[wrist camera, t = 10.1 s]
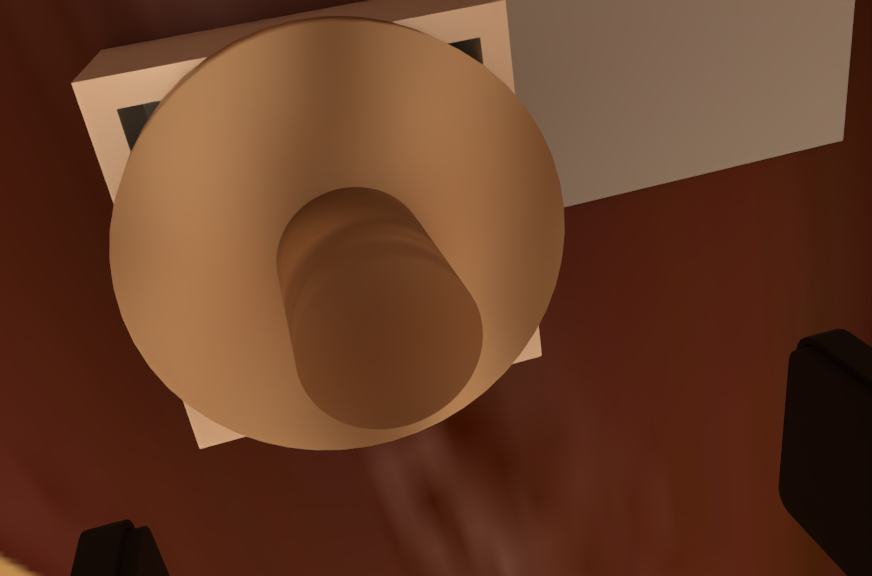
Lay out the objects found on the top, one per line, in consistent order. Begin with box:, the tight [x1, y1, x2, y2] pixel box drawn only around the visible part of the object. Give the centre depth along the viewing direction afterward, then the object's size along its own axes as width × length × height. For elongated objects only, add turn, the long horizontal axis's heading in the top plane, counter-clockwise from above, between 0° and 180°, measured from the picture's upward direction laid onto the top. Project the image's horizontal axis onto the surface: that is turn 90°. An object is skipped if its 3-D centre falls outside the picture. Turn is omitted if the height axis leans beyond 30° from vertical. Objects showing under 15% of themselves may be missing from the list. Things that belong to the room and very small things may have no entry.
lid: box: [110, 16, 565, 450], centre depth 19 cm, size 12×12×6 cm
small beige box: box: [71, 0, 542, 449], centre depth 25 cm, size 11×11×6 cm
